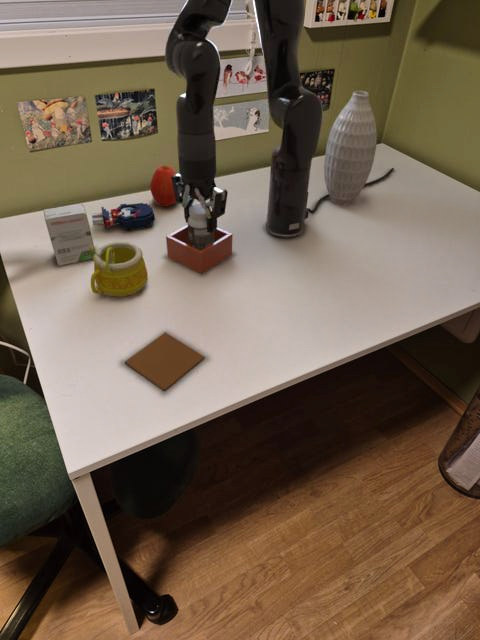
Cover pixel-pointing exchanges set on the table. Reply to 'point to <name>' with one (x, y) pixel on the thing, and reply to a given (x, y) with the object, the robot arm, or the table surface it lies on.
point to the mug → (118, 269)
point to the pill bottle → (199, 228)
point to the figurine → (126, 216)
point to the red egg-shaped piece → (163, 186)
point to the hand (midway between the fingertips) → (200, 226)
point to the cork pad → (164, 361)
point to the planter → (196, 258)
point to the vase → (350, 149)
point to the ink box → (69, 233)
